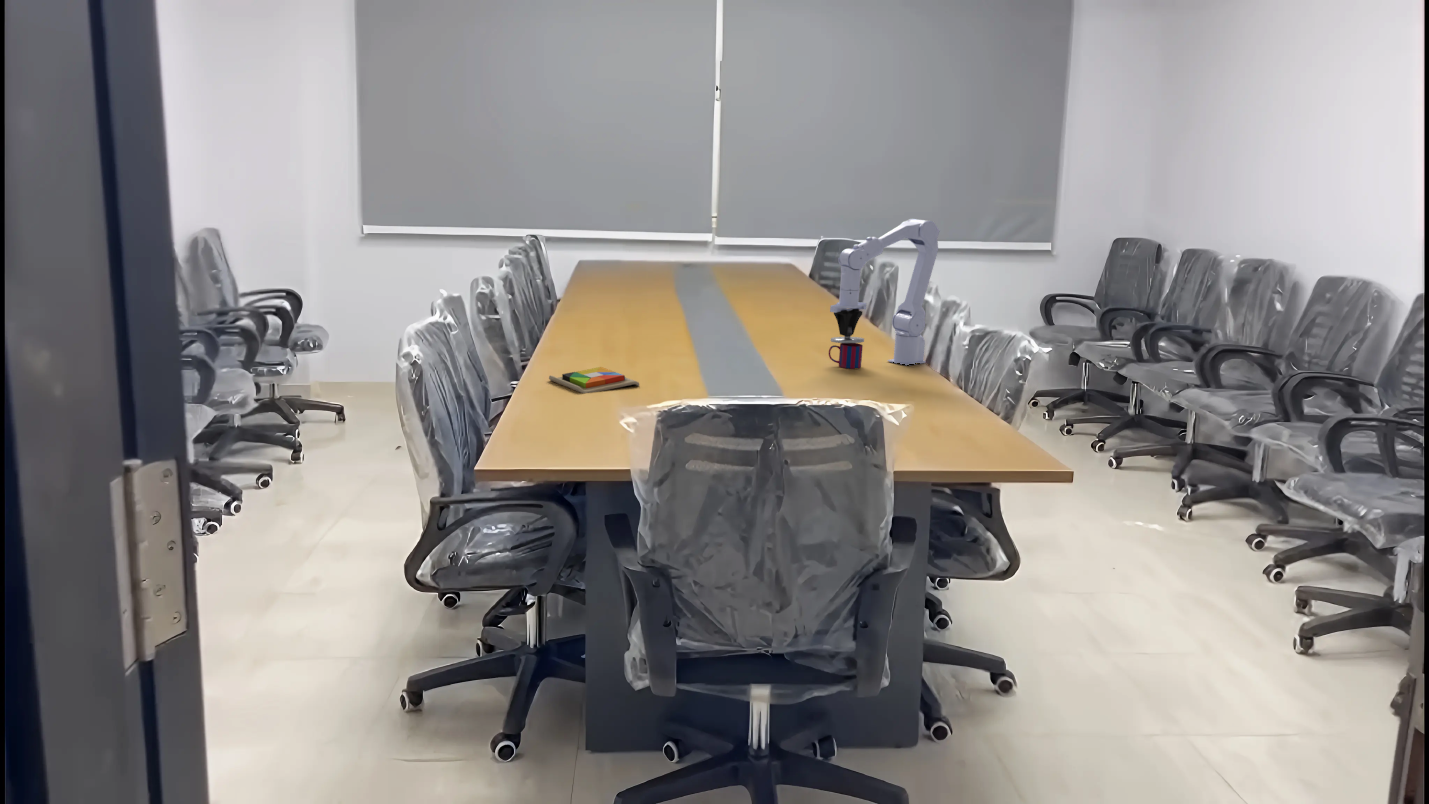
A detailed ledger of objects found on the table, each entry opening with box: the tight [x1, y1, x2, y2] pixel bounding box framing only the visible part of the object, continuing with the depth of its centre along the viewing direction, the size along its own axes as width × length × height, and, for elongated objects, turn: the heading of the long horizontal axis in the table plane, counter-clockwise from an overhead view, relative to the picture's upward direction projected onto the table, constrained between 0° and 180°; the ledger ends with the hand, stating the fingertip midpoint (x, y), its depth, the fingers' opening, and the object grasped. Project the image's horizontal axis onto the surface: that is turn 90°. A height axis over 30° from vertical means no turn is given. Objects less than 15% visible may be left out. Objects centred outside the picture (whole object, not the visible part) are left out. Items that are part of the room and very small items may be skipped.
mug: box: [828, 343, 864, 370], centre depth 327 cm, size 7×10×7 cm
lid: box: [830, 326, 865, 344], centre depth 325 cm, size 10×10×4 cm
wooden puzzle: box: [548, 366, 640, 394], centre depth 290 cm, size 18×19×4 cm
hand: (846, 334), depth 326 cm, fingers closed on lid, 3 cm apart
